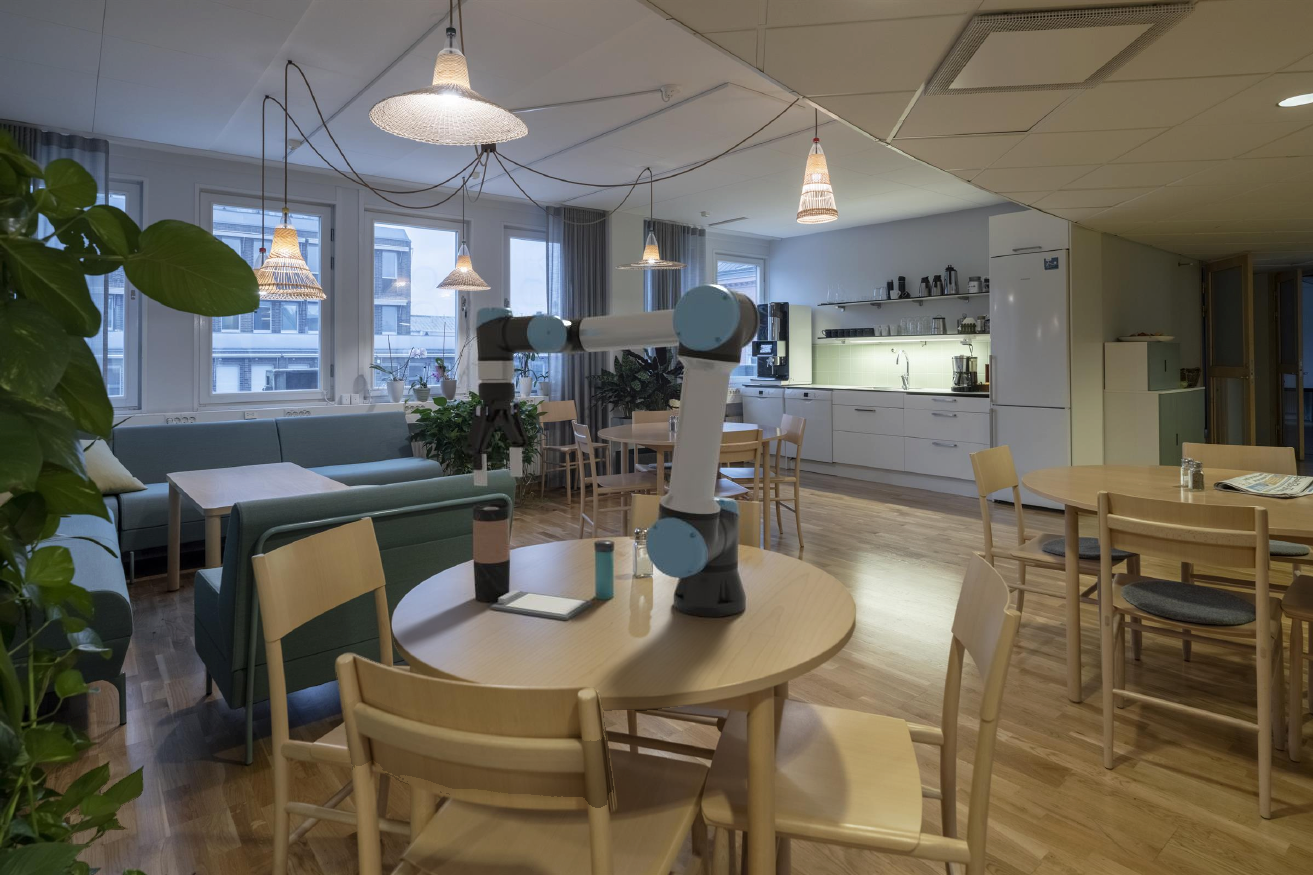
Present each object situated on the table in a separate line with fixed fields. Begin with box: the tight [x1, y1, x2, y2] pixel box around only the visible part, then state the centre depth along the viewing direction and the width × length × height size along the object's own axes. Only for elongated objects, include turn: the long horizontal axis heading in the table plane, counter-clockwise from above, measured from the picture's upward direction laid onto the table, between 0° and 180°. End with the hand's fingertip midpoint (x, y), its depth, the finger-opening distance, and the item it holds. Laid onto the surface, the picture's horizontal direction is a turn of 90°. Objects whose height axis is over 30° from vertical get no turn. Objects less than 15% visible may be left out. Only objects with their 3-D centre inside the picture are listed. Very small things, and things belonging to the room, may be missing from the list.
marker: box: [593, 539, 615, 600], centre depth 159 cm, size 4×4×12 cm
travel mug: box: [472, 502, 511, 604], centre depth 157 cm, size 8×8×20 cm
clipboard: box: [490, 589, 594, 621], centre depth 153 cm, size 18×11×2 cm, turn 68°
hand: (499, 481), depth 157 cm, fingers open, 13 cm apart
